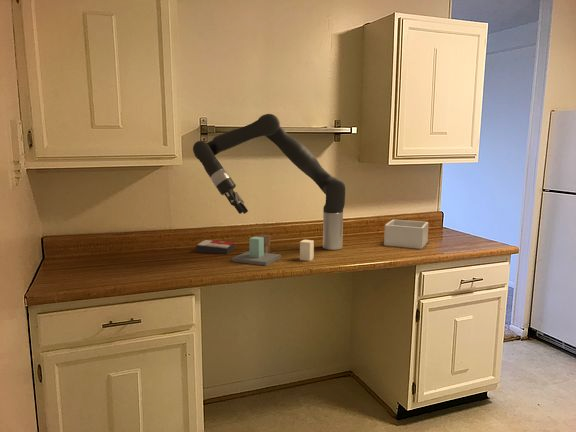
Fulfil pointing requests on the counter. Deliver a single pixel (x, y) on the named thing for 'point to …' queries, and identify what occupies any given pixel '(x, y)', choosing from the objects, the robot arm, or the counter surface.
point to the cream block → (306, 250)
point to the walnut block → (266, 243)
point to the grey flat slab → (262, 260)
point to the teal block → (256, 247)
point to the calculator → (215, 247)
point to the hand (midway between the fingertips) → (244, 212)
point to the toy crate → (406, 234)
